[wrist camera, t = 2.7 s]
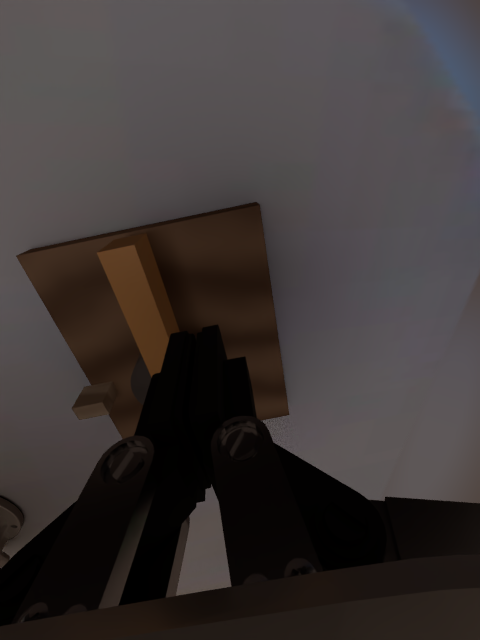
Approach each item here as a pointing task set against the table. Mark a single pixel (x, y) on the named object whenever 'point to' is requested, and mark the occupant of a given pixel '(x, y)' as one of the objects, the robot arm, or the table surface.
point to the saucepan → (140, 304)
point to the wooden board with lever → (184, 296)
